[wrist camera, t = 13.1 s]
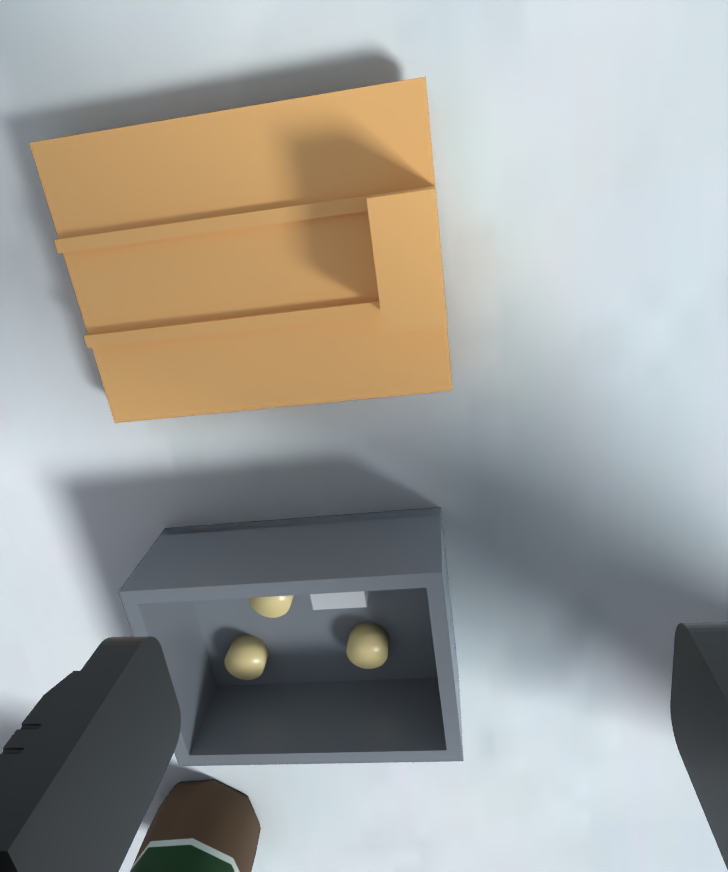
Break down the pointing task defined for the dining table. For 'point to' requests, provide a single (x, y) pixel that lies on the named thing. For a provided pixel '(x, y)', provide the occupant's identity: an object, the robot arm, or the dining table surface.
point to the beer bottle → (201, 831)
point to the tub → (305, 638)
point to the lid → (257, 253)
